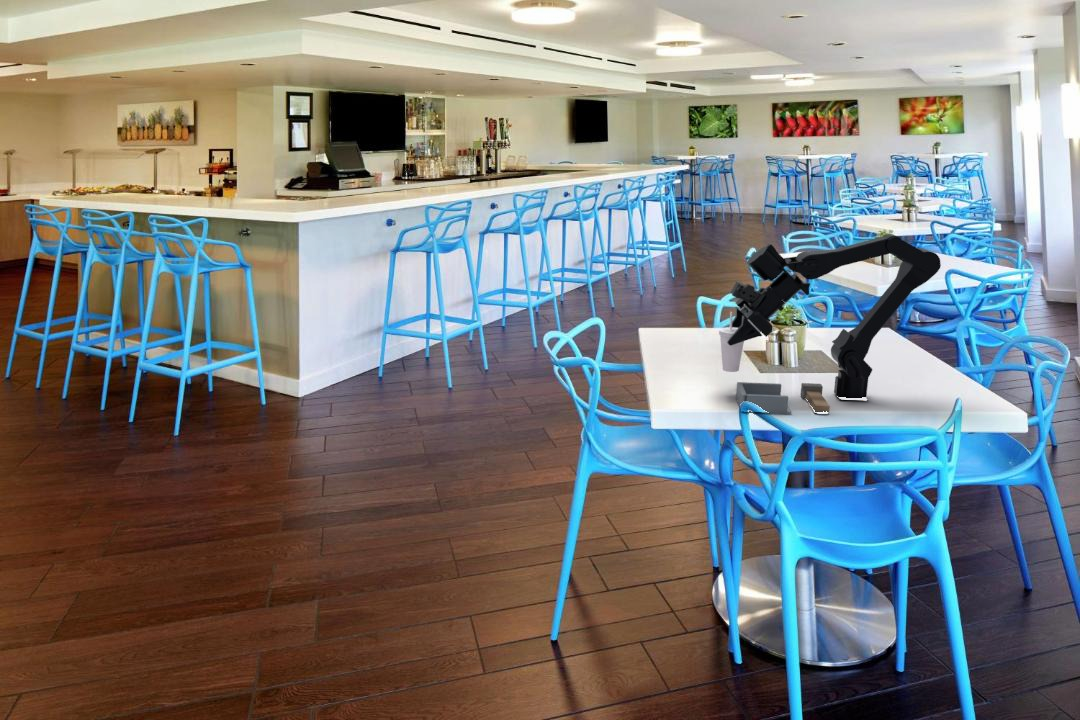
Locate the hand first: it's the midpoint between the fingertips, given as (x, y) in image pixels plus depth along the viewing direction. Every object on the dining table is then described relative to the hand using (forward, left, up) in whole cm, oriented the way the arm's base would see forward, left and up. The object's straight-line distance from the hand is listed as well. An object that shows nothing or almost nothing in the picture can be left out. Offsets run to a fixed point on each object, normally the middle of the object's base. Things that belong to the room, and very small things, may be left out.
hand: (726, 340), depth 200 cm
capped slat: (-20, +7, -13) cm, 25 cm away
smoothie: (-1, 0, -7) cm, 7 cm away
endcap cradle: (-8, +8, -13) cm, 17 cm away
